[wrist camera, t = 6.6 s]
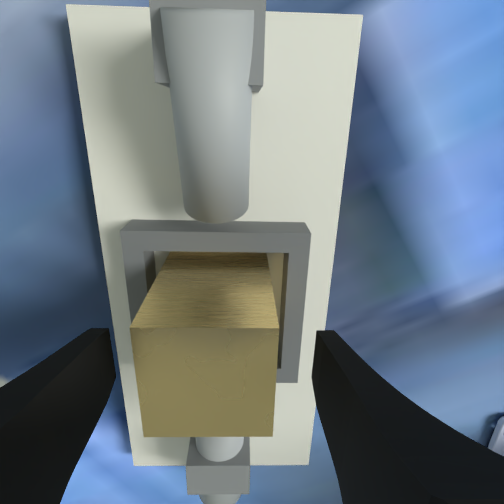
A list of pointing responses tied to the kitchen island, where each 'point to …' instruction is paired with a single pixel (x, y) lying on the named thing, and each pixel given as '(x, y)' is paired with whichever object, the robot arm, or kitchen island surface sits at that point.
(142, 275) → the coupling stand
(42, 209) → the kitchen island surface
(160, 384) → the block
